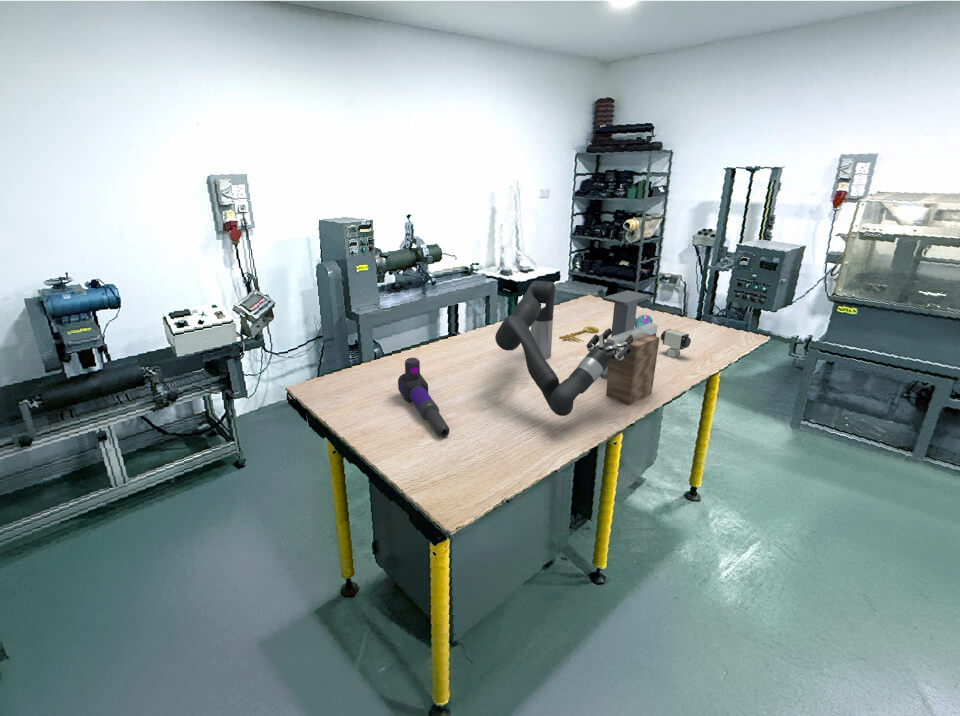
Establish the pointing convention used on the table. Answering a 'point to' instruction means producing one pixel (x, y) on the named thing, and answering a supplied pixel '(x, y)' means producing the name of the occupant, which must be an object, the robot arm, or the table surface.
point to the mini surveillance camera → (675, 341)
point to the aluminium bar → (634, 333)
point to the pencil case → (643, 321)
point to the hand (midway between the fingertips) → (621, 333)
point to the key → (586, 329)
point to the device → (421, 396)
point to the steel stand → (623, 313)
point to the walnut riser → (633, 372)
